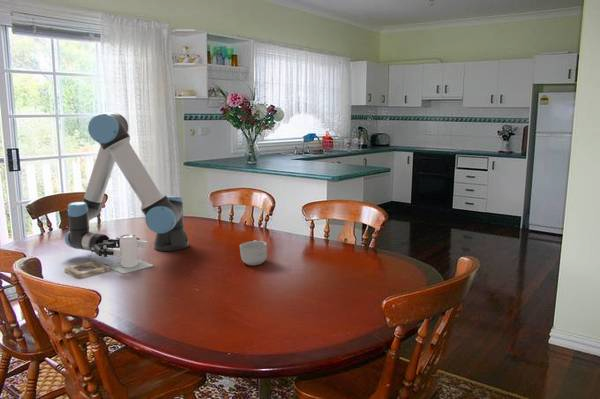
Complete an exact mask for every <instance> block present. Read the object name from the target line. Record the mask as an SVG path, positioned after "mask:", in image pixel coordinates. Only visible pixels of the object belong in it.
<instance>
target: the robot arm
mask: <svg viewBox="0 0 600 399" xmlns="http://www.w3.org/2000/svg"><path fill="white" fill-rule="evenodd" d="M87 129H88V130H87V131H88V134H89V136H90V137H91V139H92V140H93V141H95V142H96V143H98V144H99V149H98V152H97V155H96V159H95V161H94V164H93V168H92V171H91V174H90V177H89V180H88V184H87V186H86V190H85V192H84V196H83V200H82V201H75V202H70V203H69V204H67V216H68V224H69V226H68V227H69V231H67V232H66V233H65V237H64V242H65V244H66V246H68V247H69V248H73V249H77V250H82V251H89V252H91V253H94V254H96V255H97V257H103V258H108V256H111V257H114V258H115V257H117V258H121V257H122V255H121V250H120V238H121V237H116V238H115V239H113V238H110V237H109V236H108V235H105V234H103V233H98V232H91V231H90V222H89V221H91V220H92V219H95V218H97V217H98V216H99V215H100V214H101V212H102V202H103V199H104V196H105V193H106V190H107V187H108V184H109V181H110V178H111V175H112V172H113V169H114V166H115V164H116V165H117V166H118V168H119V170H120V171H121V173H122V174H123V176H124V177H125V179H126V181H127V182H128V184H129V186H130V187H131V188H132V190H133V191H134V194H135V195H136V197H137V198H138V200H139V202H141V206H140V210H141V212H142V213H143V215H144V217H145V225H146V226H147V228H148V229H149V230H150V231H151V232H153V233H156V235H155V238H154V241H153V248H154V249H155V250H156V251H160V252H170V251H171V252H172V251H173V252H174V251H181V250H184V249H186V248H188V247H189V244H190V243H189V242H190V241H189V239H188V236H187V233H186V231H185V227H184V226H185V225H184V207H183V206H184V205H183V204H184V202H183V197H182V196H180V195H174V196H173V195H168V196H167V194H164V193H162V192H160V190H159V188H158V187H157V186H156V184H155V182H154V181H153V179H152V176H150V174H149V173H148V171H147V169H146V168H145V165H144V164H143V162H142V161H141V159H140V158H139V156H138V154H137V153H136V152H135V150H134V148H133V146H132V145H131V142H130V141H131V136H130V134H129V133H128V132H129V124H128V121H127V119H126V118H125V117H124V116H123V115H122V114H120V113H117V112H107V111H106V112H100V113H98V114H95V115H94V116H93V117H91V119H90V120H89V122H88V128H87ZM135 237H136V236H135ZM136 239H137V248H141V249H148V248H149V243H148V241H146V240H141V239H140V238H139V237H136Z"/></svg>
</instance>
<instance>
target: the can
mask: <svg viewBox="0 0 600 399" xmlns="http://www.w3.org/2000/svg"><path fill="white" fill-rule="evenodd" d="M119 238H120V247H119V250H121V255H122V257H120V263H121V266H122V267H123V268H133V267H136V266H138V259H139V247H137V239H136V235H135V234H123V235H121V236H120V237H119Z"/></svg>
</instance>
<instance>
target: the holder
mask: <svg viewBox="0 0 600 399" xmlns="http://www.w3.org/2000/svg"><path fill="white" fill-rule="evenodd" d="M108 266H109V265H105V264H103V263H101V262H98V261H96V260H93V261H88V262H84V263H80V264H75V265H70V266H65V267H64V272H65V273H67V274H69V275H71V276H73V277H75V278H76V279H81V278H86V277H90V276H94V275H97V274H98V275H99V274H102V273H105V272H106V273H107V272H110V268H109V267H108ZM92 267H93V269H89V268H92ZM83 269H89V270H84V271H80V270H83Z"/></svg>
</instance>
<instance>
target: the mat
mask: <svg viewBox="0 0 600 399" xmlns="http://www.w3.org/2000/svg"><path fill="white" fill-rule="evenodd" d="M107 266H108V267H109V270H110V269H111V270H113V271H115V272H116V273H120V274H121V275H125V274H129V273H132V272H136V271H141V270H144V269H148V268H152V267H154V265H153V264H151V263H148V262H146V261H143V260H140V259H139V258H138V266H136V267H133V268H123V267H122V266H121V262H118V263H114V264H110V265H107Z"/></svg>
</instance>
